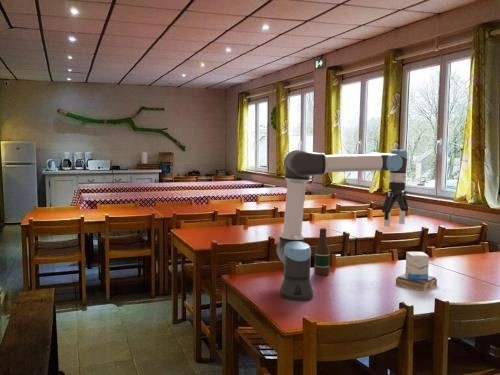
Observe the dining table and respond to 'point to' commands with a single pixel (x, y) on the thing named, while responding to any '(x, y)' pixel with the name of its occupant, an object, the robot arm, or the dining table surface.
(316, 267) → the beer bottle
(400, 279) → the plinth
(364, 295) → the dining table surface
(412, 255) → the ink box
